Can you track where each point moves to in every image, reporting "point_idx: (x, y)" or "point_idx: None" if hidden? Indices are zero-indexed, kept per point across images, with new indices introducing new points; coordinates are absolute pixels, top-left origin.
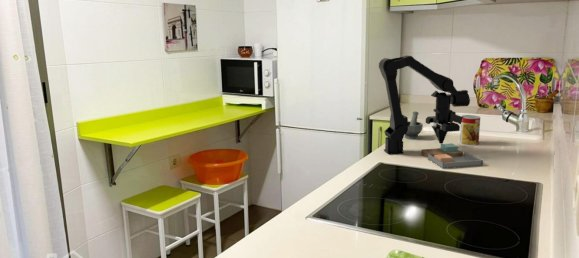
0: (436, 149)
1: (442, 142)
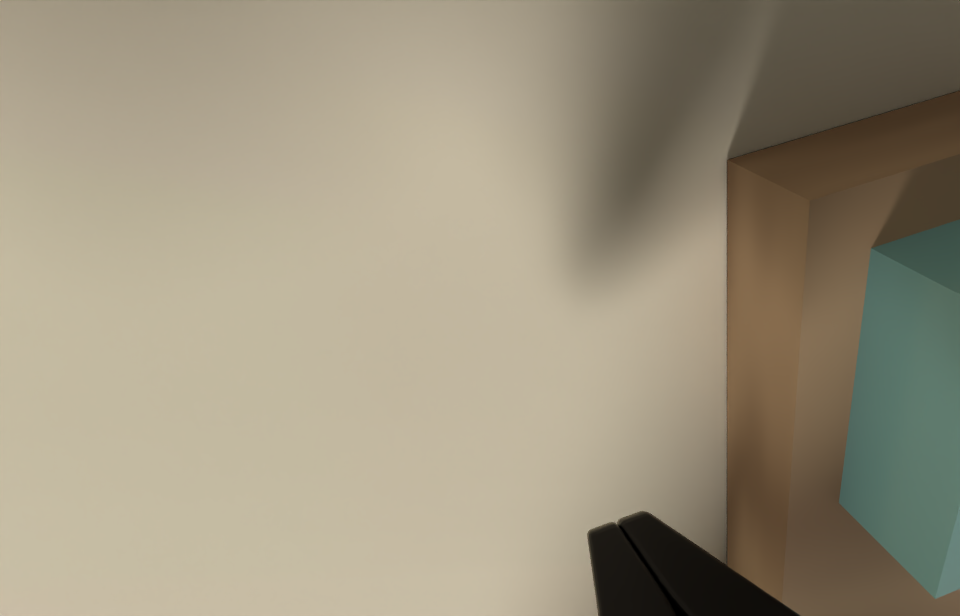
0: (850, 566)
1: (669, 539)
